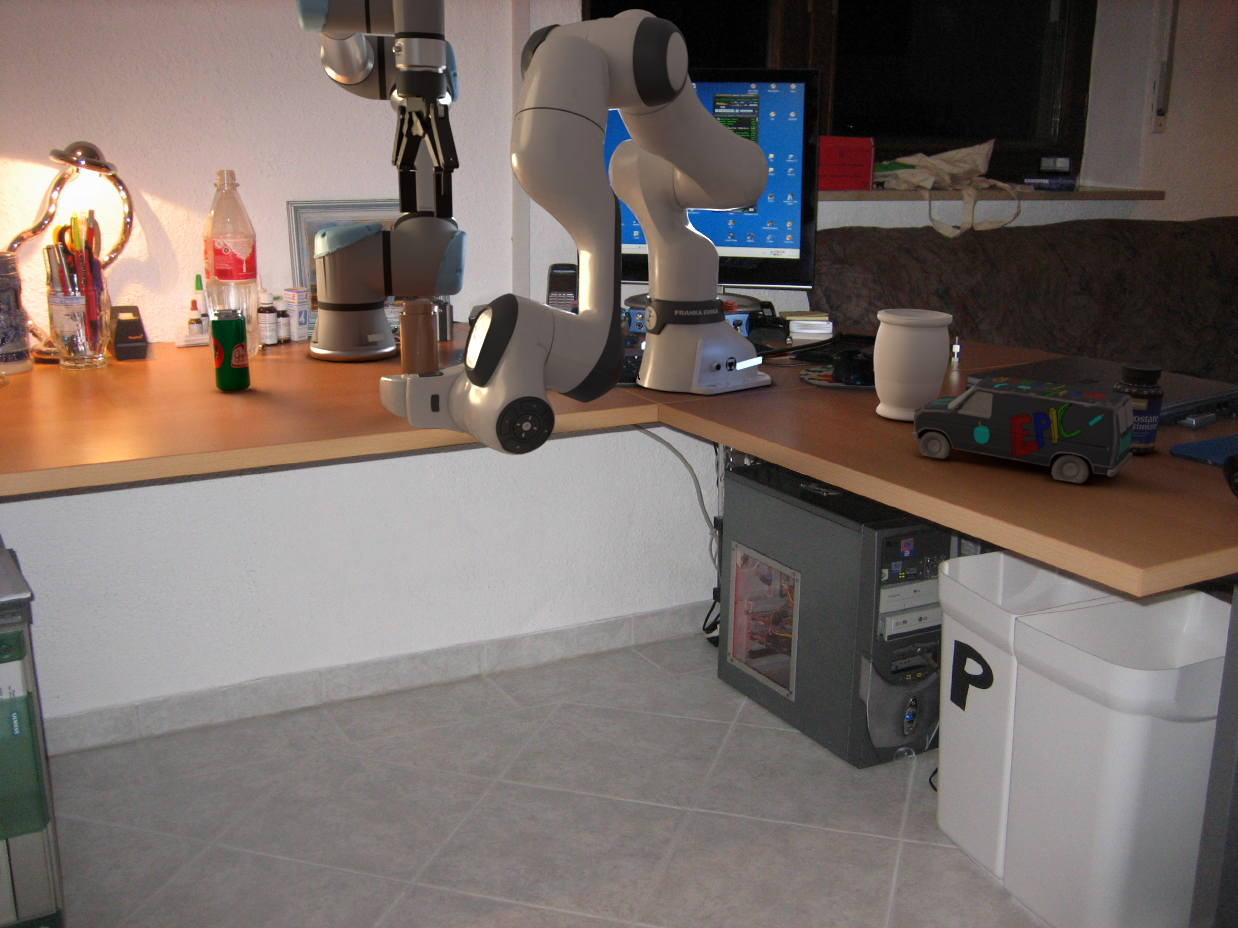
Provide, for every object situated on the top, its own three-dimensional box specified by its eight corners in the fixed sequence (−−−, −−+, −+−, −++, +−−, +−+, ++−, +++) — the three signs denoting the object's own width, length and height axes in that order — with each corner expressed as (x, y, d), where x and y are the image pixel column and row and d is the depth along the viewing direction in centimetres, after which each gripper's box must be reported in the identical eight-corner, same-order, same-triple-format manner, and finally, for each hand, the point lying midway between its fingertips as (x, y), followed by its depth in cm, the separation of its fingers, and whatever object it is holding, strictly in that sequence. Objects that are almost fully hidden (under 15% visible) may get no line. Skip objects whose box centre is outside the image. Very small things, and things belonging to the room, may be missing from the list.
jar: (854, 409, 159) (862, 309, 155) (910, 404, 163) (920, 306, 159) (898, 426, 150) (909, 320, 146) (957, 420, 154) (969, 317, 150)
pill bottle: (1117, 454, 138) (1130, 370, 135) (1094, 442, 144) (1106, 361, 140) (1163, 454, 138) (1177, 370, 135) (1139, 442, 144) (1152, 361, 141)
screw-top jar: (447, 407, 156) (444, 302, 152) (421, 414, 152) (417, 306, 148) (421, 402, 159) (417, 298, 155) (395, 409, 155) (390, 302, 151)
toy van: (934, 436, 145) (942, 364, 142) (1131, 470, 131) (1144, 390, 128) (905, 453, 136) (913, 376, 134) (1112, 490, 123) (1125, 406, 120)
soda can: (239, 393, 162) (233, 314, 158) (209, 391, 163) (202, 312, 159) (257, 386, 167) (251, 309, 163) (227, 384, 168) (221, 308, 164)
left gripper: (367, 73, 169) (373, 211, 175) (431, 65, 149) (436, 220, 155) (411, 76, 173) (416, 210, 179) (480, 68, 153) (482, 219, 159)
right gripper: (553, 367, 137) (513, 349, 149) (397, 378, 128) (367, 358, 139) (553, 414, 139) (513, 393, 150) (399, 429, 129) (369, 405, 141)
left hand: (425, 215), depth 167 cm, fingers open, 13 cm apart
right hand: (441, 377), depth 145 cm, fingers open, 8 cm apart
